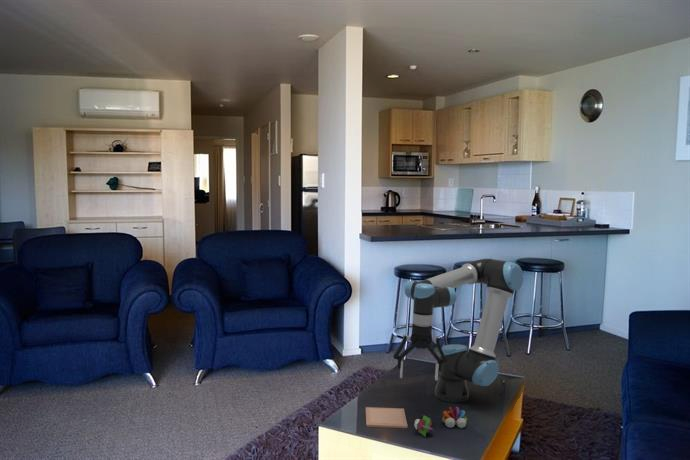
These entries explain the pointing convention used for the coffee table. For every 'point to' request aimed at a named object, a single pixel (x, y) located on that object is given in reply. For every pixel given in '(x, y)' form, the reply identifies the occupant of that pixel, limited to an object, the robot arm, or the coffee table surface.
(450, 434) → the coffee table surface
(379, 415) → the tile
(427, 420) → the geometric puzzle
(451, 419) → the colourful small pieces
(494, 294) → the robot arm
